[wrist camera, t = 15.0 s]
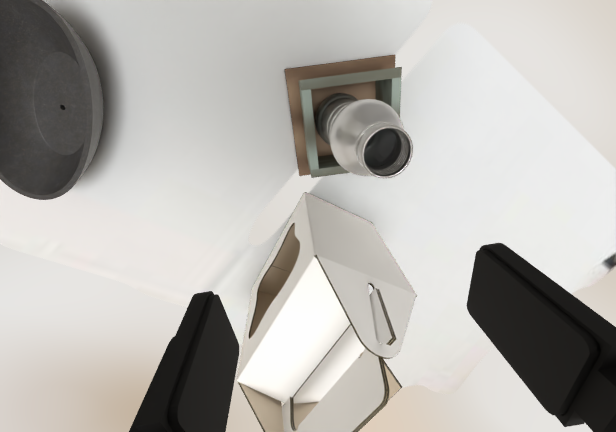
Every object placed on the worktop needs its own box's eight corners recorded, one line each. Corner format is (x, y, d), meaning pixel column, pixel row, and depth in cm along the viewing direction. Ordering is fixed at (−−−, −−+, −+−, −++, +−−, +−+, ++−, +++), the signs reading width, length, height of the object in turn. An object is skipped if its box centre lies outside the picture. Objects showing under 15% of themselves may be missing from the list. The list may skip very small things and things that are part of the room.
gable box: (312, 309, 53) (335, 509, 28) (251, 289, 49) (214, 497, 24) (373, 221, 45) (482, 393, 20) (305, 189, 41) (332, 349, 16)
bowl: (135, 37, 31) (102, 27, 26) (112, 196, 40) (83, 214, 34) (15, -20, 28) (-52, -45, 23) (17, 165, 37) (-31, 179, 31)
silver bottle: (342, 80, 34) (405, 76, 16) (370, 124, 36) (449, 161, 19) (303, 114, 35) (320, 143, 17) (332, 153, 38) (373, 213, 20)
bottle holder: (284, 69, 34) (284, 66, 27) (392, 55, 34) (416, 48, 28) (299, 173, 40) (301, 190, 34) (389, 161, 40) (408, 175, 34)
